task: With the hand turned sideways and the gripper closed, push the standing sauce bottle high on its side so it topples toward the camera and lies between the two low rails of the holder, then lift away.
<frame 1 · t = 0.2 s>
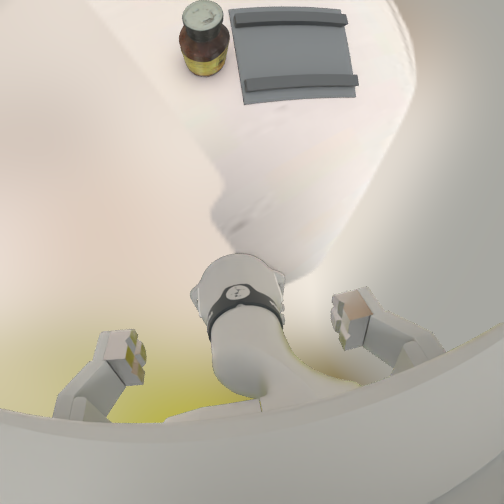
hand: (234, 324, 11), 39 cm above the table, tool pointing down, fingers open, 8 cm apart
holder: (295, 50, 39), on the table
sauce bottle: (205, 59, 38), on the table
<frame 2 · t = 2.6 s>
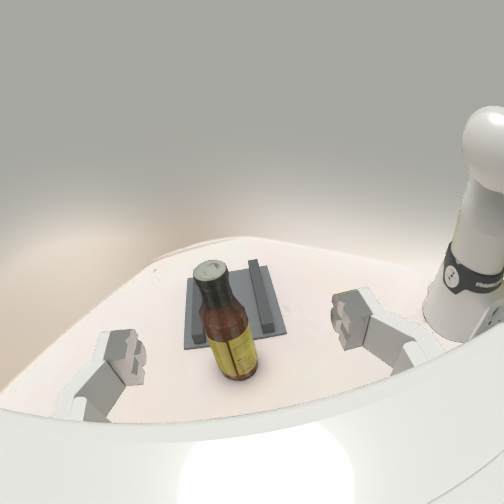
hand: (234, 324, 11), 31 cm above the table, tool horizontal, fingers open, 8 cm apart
holder: (230, 304, 56), on the table
sauce bottle: (238, 366, 44), on the table
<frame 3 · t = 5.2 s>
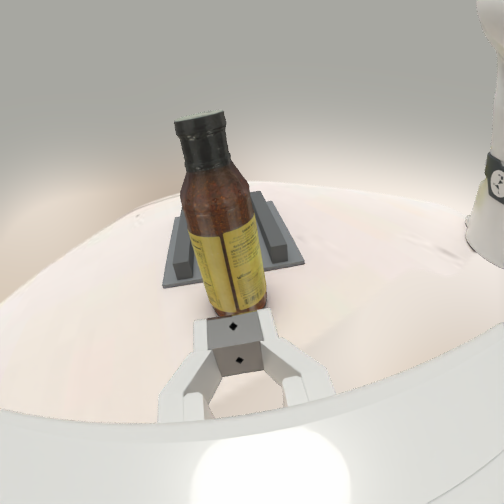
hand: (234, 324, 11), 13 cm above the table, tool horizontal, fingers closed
holder: (227, 237, 44), on the table
sauce bottle: (238, 305, 31), on the table
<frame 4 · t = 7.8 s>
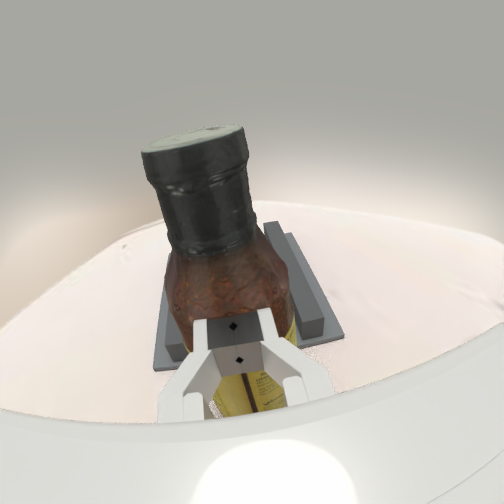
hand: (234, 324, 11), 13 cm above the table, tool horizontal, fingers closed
holder: (237, 289, 33), on the table
sauce bottle: (258, 406, 21), on the table, touching gripper
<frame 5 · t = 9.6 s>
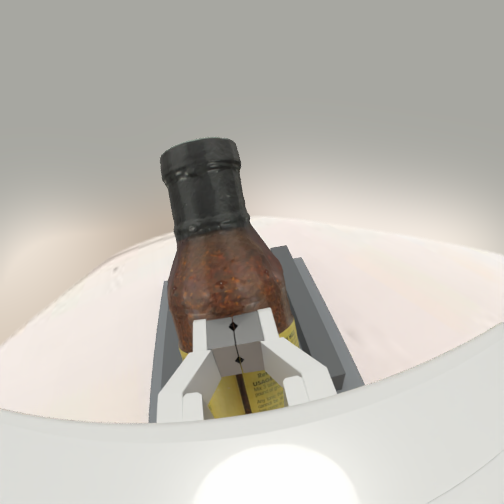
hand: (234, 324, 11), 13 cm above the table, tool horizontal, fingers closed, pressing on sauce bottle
holder: (242, 329, 28), on the table
sauce bottle: (267, 465, 15), point 1 cm above the table, touching gripper
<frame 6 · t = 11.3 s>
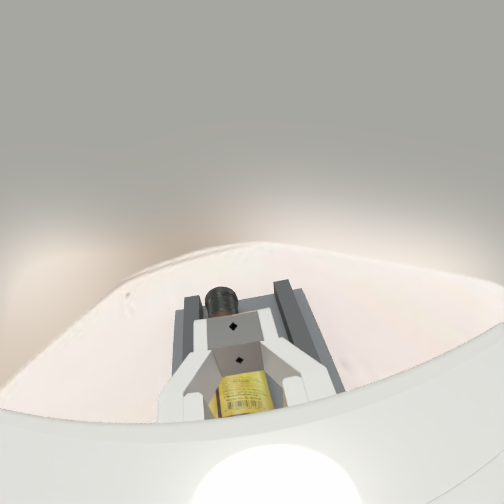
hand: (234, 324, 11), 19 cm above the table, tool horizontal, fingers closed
holder: (248, 359, 32), on the table
sauce bottle: (242, 450, 19), point 4 cm above the table, touching holder
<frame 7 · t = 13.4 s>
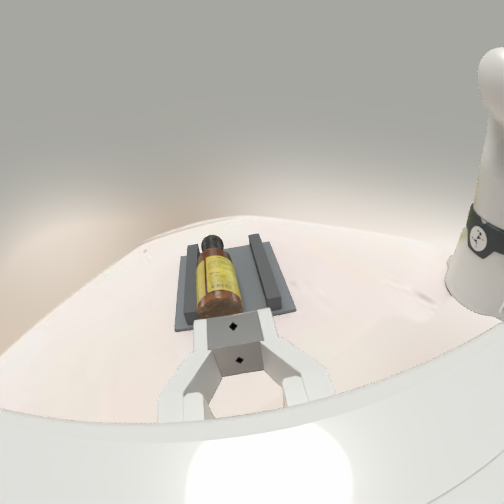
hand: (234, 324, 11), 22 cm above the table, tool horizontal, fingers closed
holder: (229, 281, 49), on the table
sauce bottle: (219, 318, 37), point 4 cm above the table, touching holder
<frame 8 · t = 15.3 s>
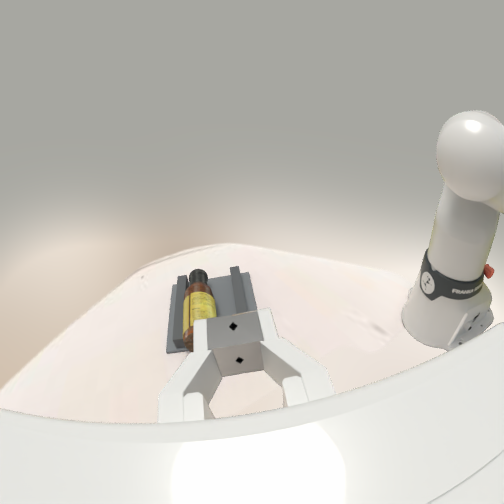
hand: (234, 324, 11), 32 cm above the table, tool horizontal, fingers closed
holder: (212, 309, 58), on the table
sauce bottle: (200, 346, 45), point 4 cm above the table, touching holder
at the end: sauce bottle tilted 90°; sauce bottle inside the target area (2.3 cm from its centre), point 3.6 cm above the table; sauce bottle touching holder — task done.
